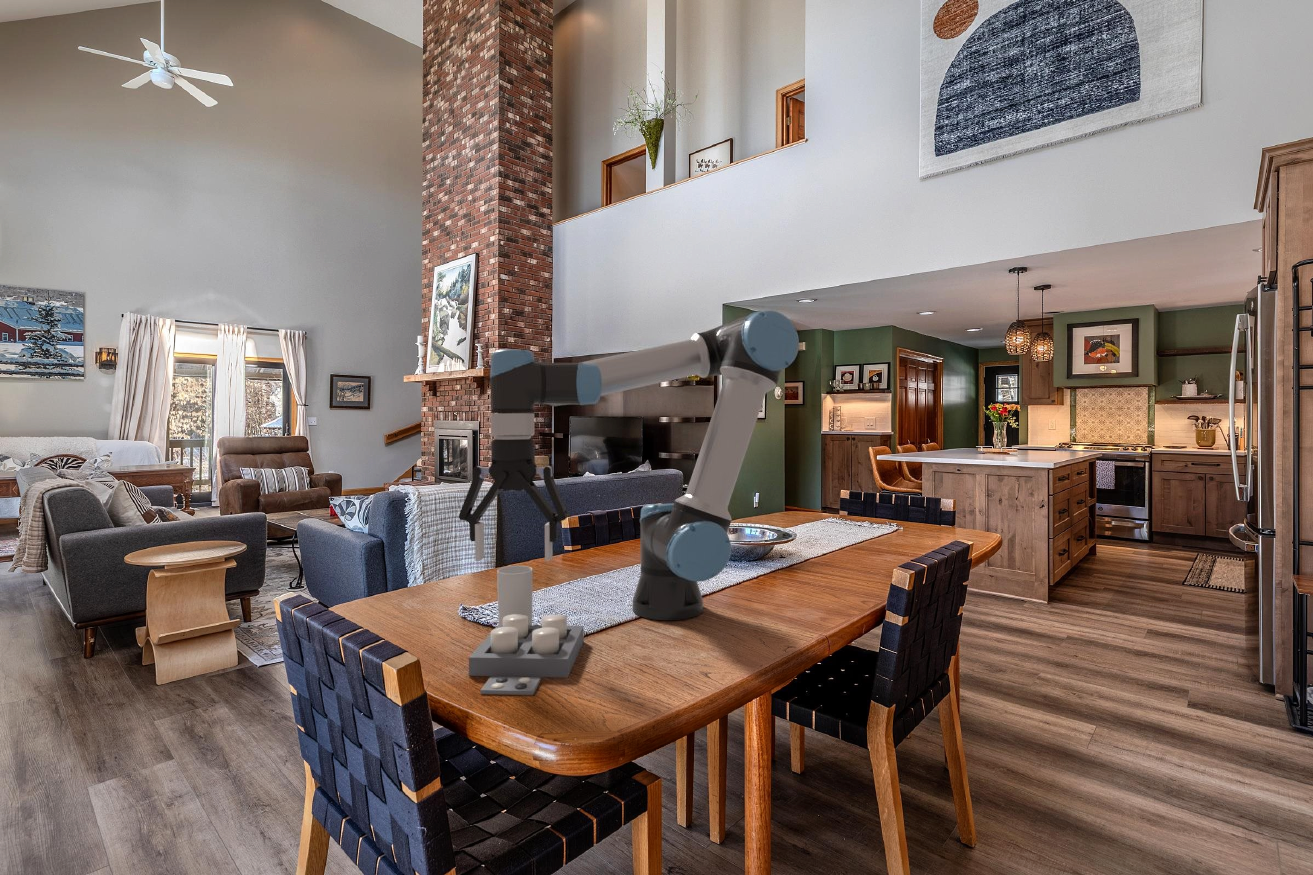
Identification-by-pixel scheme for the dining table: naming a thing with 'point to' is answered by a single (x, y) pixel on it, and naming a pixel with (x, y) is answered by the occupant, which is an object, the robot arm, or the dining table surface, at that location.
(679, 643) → the dining table surface
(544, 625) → the button
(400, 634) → the dining table surface
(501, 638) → the button
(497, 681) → the card
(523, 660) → the board
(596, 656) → the dining table surface
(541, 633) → the button
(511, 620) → the button
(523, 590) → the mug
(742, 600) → the dining table surface
